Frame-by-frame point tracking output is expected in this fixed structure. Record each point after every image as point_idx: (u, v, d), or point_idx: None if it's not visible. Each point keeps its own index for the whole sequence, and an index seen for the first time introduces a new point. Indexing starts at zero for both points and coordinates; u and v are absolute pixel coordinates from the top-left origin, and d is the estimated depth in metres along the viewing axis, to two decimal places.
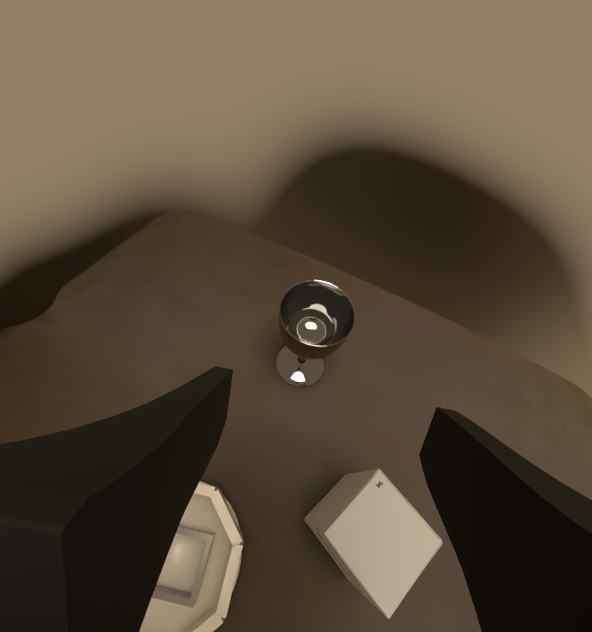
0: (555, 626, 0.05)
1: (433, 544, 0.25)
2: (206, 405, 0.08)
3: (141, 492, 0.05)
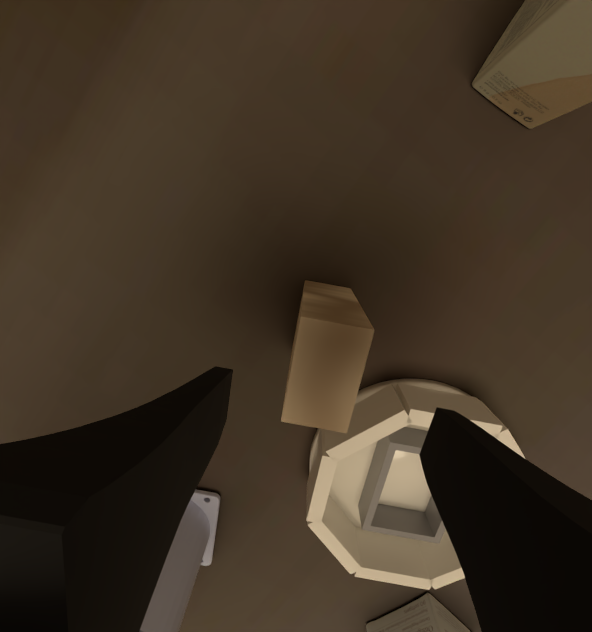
0: (555, 626, 0.05)
1: None
2: (206, 405, 0.08)
3: (141, 492, 0.05)
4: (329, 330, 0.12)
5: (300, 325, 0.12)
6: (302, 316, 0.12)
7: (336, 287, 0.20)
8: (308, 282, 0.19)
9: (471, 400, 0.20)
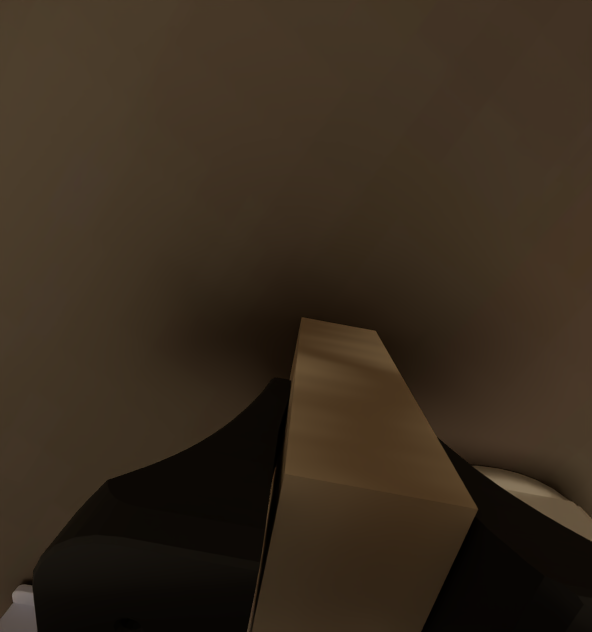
0: (440, 605, 0.05)
1: None
2: (282, 419, 0.08)
3: None
4: (358, 505, 0.05)
5: (284, 492, 0.05)
6: (289, 471, 0.05)
7: (353, 331, 0.12)
8: (307, 323, 0.12)
9: (569, 511, 0.13)
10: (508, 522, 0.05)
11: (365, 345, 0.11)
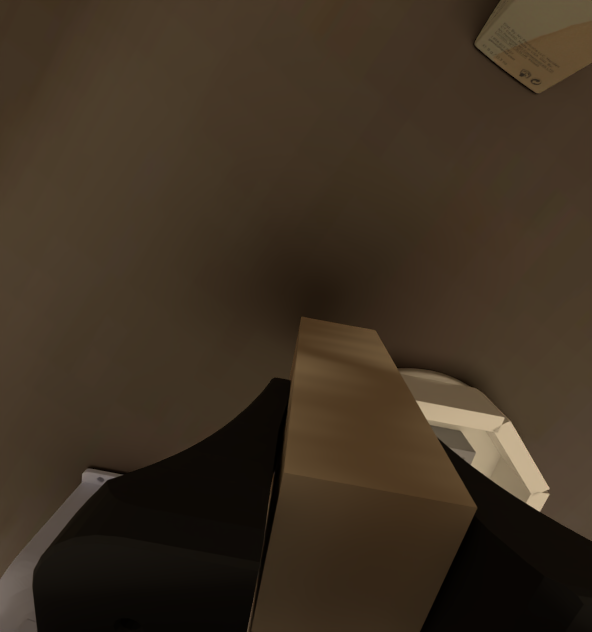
0: (440, 605, 0.05)
1: None
2: (282, 419, 0.08)
3: None
4: (357, 504, 0.05)
5: (283, 491, 0.05)
6: (288, 470, 0.05)
7: (352, 330, 0.12)
8: (306, 322, 0.12)
9: (471, 391, 0.19)
10: (508, 523, 0.05)
11: (365, 344, 0.11)
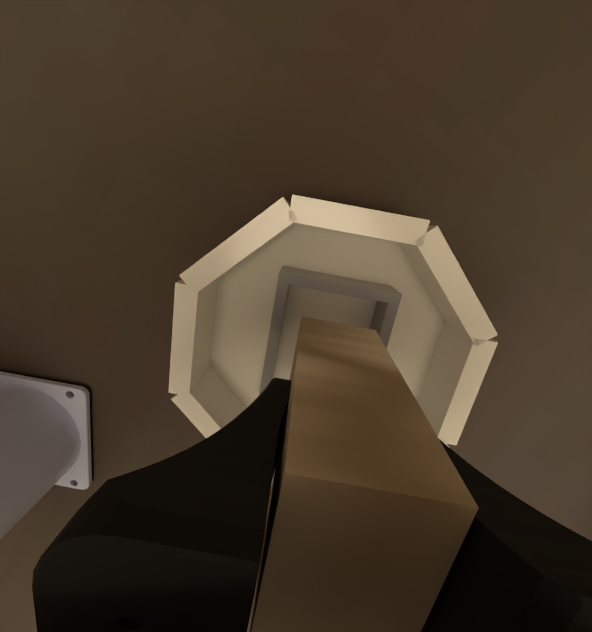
0: (440, 605, 0.05)
1: None
2: (282, 419, 0.08)
3: None
4: (358, 505, 0.05)
5: (284, 491, 0.05)
6: (289, 470, 0.05)
7: (353, 330, 0.12)
8: (307, 322, 0.12)
9: None
10: (508, 523, 0.05)
11: (365, 344, 0.11)
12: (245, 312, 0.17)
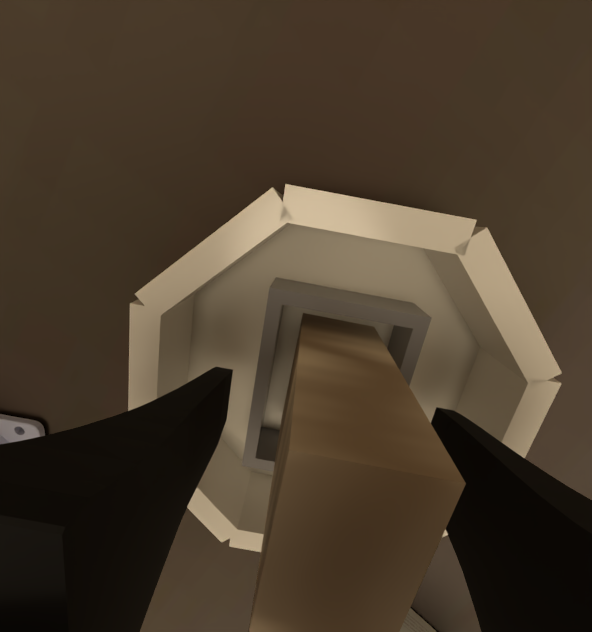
0: (555, 626, 0.05)
1: None
2: (206, 405, 0.08)
3: (141, 492, 0.05)
4: (356, 480, 0.05)
5: (288, 467, 0.05)
6: (293, 448, 0.05)
7: (352, 326, 0.12)
8: (308, 318, 0.12)
9: None
10: None
11: (364, 339, 0.11)
12: (229, 334, 0.13)
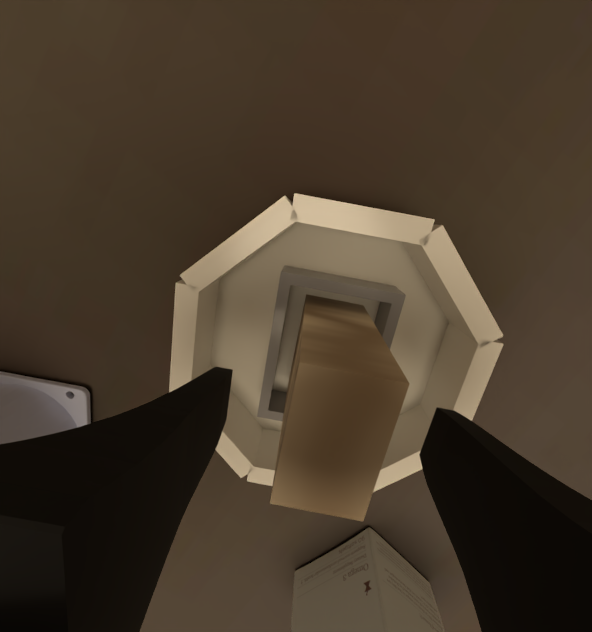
0: (555, 626, 0.05)
1: None
2: (206, 405, 0.08)
3: (141, 492, 0.05)
4: (341, 382, 0.08)
5: (299, 374, 0.08)
6: (302, 361, 0.08)
7: (346, 304, 0.15)
8: (310, 297, 0.15)
9: None
10: None
11: (354, 313, 0.14)
12: (246, 312, 0.16)
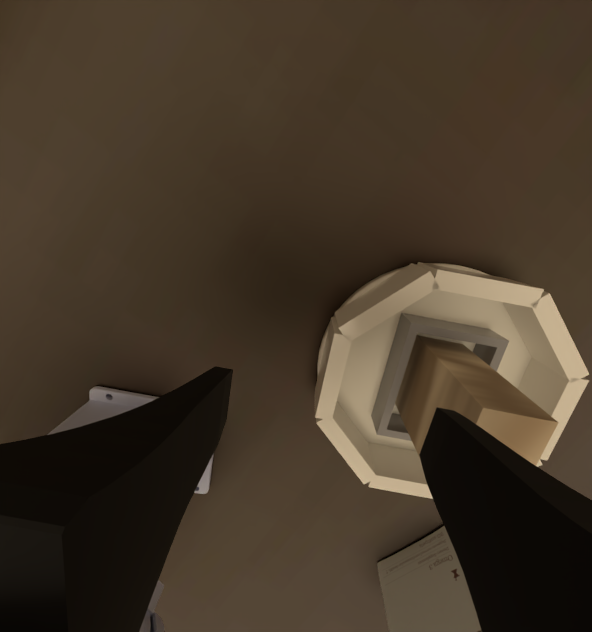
0: (555, 626, 0.05)
1: None
2: (206, 405, 0.08)
3: (141, 492, 0.05)
4: (510, 421, 0.12)
5: (480, 416, 0.12)
6: (483, 407, 0.12)
7: (451, 344, 0.19)
8: (423, 339, 0.19)
9: (503, 278, 0.18)
10: None
11: (465, 353, 0.18)
12: (365, 349, 0.20)
